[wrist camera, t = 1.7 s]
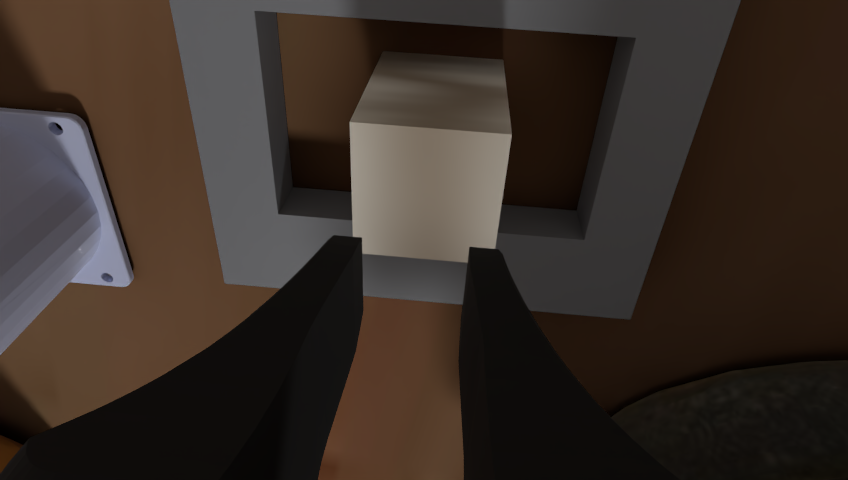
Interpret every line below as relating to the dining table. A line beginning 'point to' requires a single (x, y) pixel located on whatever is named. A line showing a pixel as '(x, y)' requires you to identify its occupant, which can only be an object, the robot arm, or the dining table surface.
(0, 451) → the coffee package
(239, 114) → the holder plate
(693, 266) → the dining table surface
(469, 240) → the cream block
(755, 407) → the vessel
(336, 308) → the robot arm
